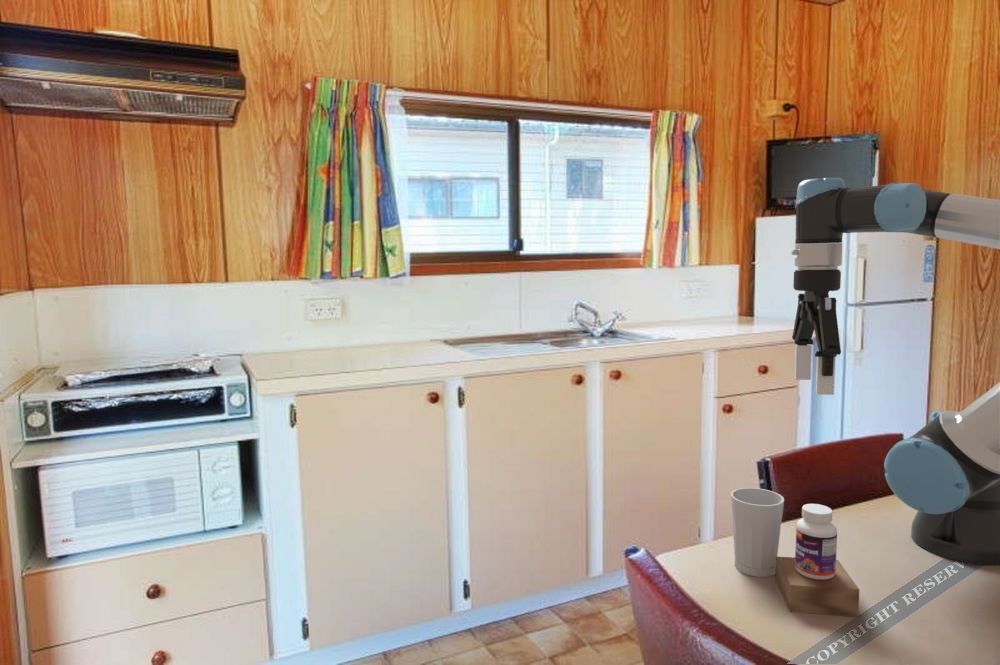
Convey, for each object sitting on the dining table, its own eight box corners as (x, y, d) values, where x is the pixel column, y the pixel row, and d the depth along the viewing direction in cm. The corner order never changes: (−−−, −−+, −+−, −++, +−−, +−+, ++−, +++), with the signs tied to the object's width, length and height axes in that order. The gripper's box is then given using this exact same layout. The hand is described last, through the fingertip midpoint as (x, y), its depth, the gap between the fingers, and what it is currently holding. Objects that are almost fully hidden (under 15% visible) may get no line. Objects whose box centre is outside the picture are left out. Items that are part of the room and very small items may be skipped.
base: (837, 584, 100) (838, 560, 100) (858, 616, 92) (859, 589, 91) (775, 580, 102) (775, 556, 102) (789, 611, 93) (790, 585, 93)
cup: (787, 581, 102) (789, 507, 100) (733, 577, 103) (734, 504, 102) (776, 558, 110) (778, 489, 108) (726, 554, 111) (727, 486, 110)
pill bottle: (786, 568, 98) (788, 505, 97) (812, 560, 100) (815, 499, 99) (816, 584, 93) (819, 518, 92) (843, 576, 95) (846, 511, 94)
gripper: (777, 267, 129) (774, 373, 131) (815, 270, 104) (810, 400, 107) (818, 266, 127) (814, 374, 130) (866, 269, 103) (860, 401, 105)
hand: (812, 386), depth 118 cm, fingers open, 13 cm apart
